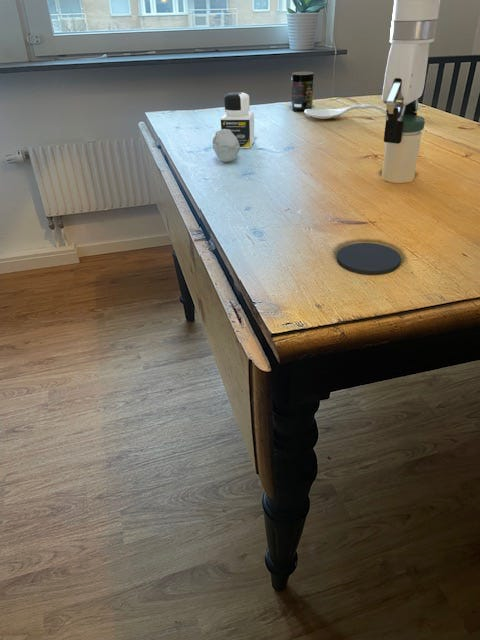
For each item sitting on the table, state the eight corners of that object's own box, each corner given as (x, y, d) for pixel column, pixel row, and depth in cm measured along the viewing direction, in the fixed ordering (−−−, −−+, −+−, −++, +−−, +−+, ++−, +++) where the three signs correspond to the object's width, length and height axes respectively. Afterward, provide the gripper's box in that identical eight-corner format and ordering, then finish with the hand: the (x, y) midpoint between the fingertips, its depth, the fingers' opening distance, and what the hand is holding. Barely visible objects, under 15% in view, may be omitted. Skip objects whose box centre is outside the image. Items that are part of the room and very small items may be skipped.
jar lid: (431, 127, 95) (432, 117, 94) (408, 134, 92) (409, 124, 91) (401, 122, 100) (402, 112, 99) (378, 128, 96) (379, 118, 95)
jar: (409, 172, 104) (417, 119, 98) (418, 182, 98) (427, 126, 92) (378, 173, 104) (384, 120, 98) (385, 183, 98) (392, 128, 93)
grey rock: (231, 155, 119) (230, 124, 115) (245, 162, 114) (244, 130, 110) (208, 160, 117) (206, 128, 113) (222, 167, 112) (220, 135, 108)
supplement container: (315, 107, 159) (316, 71, 153) (308, 112, 154) (310, 75, 148) (295, 107, 162) (295, 71, 156) (288, 111, 156) (288, 74, 151)
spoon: (419, 118, 142) (421, 105, 140) (305, 123, 143) (306, 110, 141) (410, 111, 149) (412, 99, 147) (302, 115, 150) (303, 103, 148)
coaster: (393, 245, 76) (393, 241, 75) (406, 274, 68) (407, 270, 68) (333, 246, 76) (333, 243, 76) (340, 275, 69) (340, 271, 69)
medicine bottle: (222, 148, 124) (218, 96, 118) (227, 140, 130) (225, 90, 124) (250, 148, 123) (248, 96, 116) (254, 141, 129) (253, 90, 122)
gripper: (408, 27, 95) (395, 126, 105) (373, 37, 83) (363, 146, 93) (448, 27, 91) (432, 129, 101) (418, 37, 79) (402, 151, 89)
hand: (399, 137), depth 97 cm, fingers closed on jar lid, 6 cm apart
